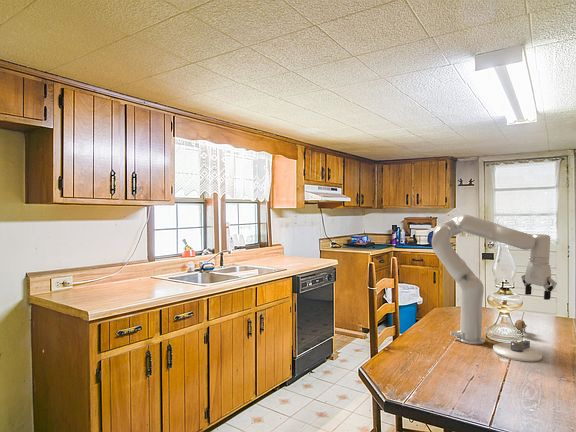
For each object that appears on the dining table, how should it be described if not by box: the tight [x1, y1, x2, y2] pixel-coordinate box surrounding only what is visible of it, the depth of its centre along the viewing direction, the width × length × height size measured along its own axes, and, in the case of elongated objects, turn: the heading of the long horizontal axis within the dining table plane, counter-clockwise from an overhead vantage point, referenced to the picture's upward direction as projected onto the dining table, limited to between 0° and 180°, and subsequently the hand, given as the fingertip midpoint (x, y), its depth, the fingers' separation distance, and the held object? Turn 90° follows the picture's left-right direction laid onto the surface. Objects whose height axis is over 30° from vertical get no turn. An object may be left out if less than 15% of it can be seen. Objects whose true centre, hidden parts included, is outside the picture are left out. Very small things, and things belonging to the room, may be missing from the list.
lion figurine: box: [514, 319, 528, 337], centre depth 206 cm, size 15×5×9 cm, turn 151°
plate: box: [492, 342, 543, 363], centre depth 178 cm, size 19×19×2 cm
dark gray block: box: [510, 339, 531, 352], centre depth 179 cm, size 10×5×3 cm, turn 117°
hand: (537, 296), depth 187 cm, fingers open, 9 cm apart
